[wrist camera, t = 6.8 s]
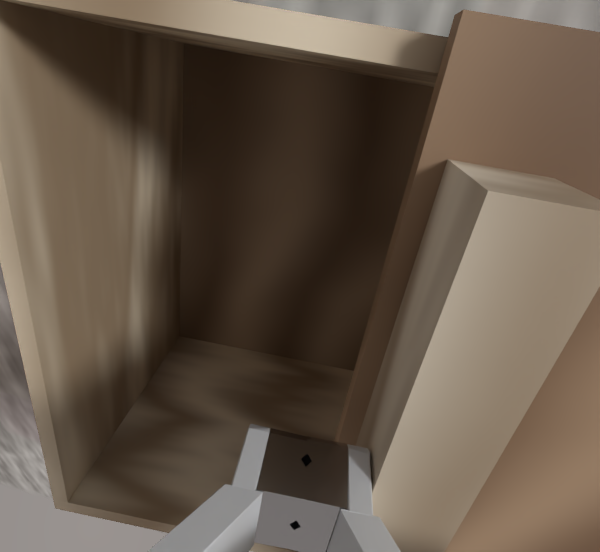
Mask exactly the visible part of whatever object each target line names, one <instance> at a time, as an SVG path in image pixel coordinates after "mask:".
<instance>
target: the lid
mask: <svg viewBox="0 0 600 552" xmlns="http://www.w3.org/2000/svg"><path fill="white" fill-rule="evenodd" d="M334 441H336V442H341V443H346V444H347V445H348V444H349V445H354V446H359V447H363V448H368V450H369V452H370V465H371V483H372V502H373V516H377V517H380V518H381V520H382V522H383V523H384V525H385V526H386V528H387V530H388V531H389V533H390V535H391V536H392V538H393V540H394V541H395V543H396V544H397V546H398V548H399V549H400V551H401V552H600V32H595V31H589V30H583V29H577V28H571V27H565V26H559V25H553V24H547V23H541V22H535V21H529V20H523V19H517V18H511V17H505V16H499V15H493V14H487V13H481V12H475V11H469V10H462V11H461V12H459V13H458V14H456V15H455V16H454V19H453V23H452V27H451V30H450V34H449V37H448V41H447V44H446V48H445V51H444V55H443V58H442V62H441V65H440V69H439V72H438V76H437V79H436V83H435V87H434V90H433V94H432V97H431V101H430V104H429V108H428V111H427V115H426V118H425V122H424V125H423V129H422V132H421V136H420V139H419V143H418V147H417V150H416V154H415V157H414V161H413V164H412V168H411V171H410V175H409V178H408V182H407V185H406V189H405V192H404V196H403V199H402V203H401V207H400V210H399V214H398V217H397V221H396V224H395V228H394V231H393V235H392V238H391V242H390V245H389V249H388V252H387V256H386V259H385V263H384V267H383V270H382V274H381V277H380V281H379V284H378V288H377V291H376V295H375V298H374V302H373V305H372V309H371V312H370V316H369V319H368V323H367V327H366V330H365V334H364V337H363V341H362V344H361V348H360V351H359V355H358V358H357V362H356V365H355V369H354V372H353V376H352V380H351V383H350V387H349V390H348V394H347V397H346V401H345V404H344V408H343V411H342V415H341V418H340V422H339V425H338V429H337V432H336V436H335V440H334Z"/></svg>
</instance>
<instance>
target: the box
mask: <svg viewBox="0 0 600 552" xmlns="http://www.w3.org/2000/svg"><path fill="white" fill-rule="evenodd" d="M447 41H448V37H443V36H437V35H431V34H425V33H419V32H413V31H407V30H402V29H396V28H390V27H384V26H378V25H372V24H366V23H360V22H354V21H348V20H343V19H337V18H331V17H325V16H319V15H313V14H307V13H301V12H295V11H290V10H284V9H278V8H272V7H266V6H260V5H254V4H248V3H242V2H236V1H231V0H0V263H1V267H2V271H3V276H4V280H5V285H6V289H7V294H8V298H9V303H10V307H11V312H12V316H13V321H14V325H15V330H16V334H17V339H18V343H19V348H20V352H21V357H22V361H23V366H24V370H25V375H26V379H27V384H28V388H29V393H30V397H31V402H32V406H33V411H34V415H35V420H36V424H37V429H38V433H39V438H40V442H41V447H42V451H43V455H44V460H45V464H46V469H47V473H48V478H49V482H50V487H51V491H52V496H53V500H54V505H55V508H56V509H60V510H65V511H70V512H74V513H79V514H84V515H88V516H93V517H98V518H103V519H107V520H111V521H116V522H120V523H125V524H130V525H134V526H139V527H144V528H148V529H153V530H157V531H162V532H167V533H169V532H170V531H172V530H173V529H174V528H175V527H176V526H177V525H178V524H180V523H181V522H182V521H183V520H184V519H185V518H186V517H188V516H189V515H190V514H191V513H192V512H193V511H194V510H196V509H197V508H198V507H199V506H200V505H201V504H202V503H203V502H205V501H206V500H207V499H208V498H209V497H210V496H211V495H213V494H214V493H215V492H216V491H217V490H218V489H219V488H221V487H222V486H223V485H224V484H229V485H231V484H232V480H233V477H234V474H235V470H236V467H237V464H238V460H239V457H240V454H241V450H242V447H243V444H244V440H245V437H246V434H247V430H248V428H249V426H250V424H255V425H259V426H264V427H268V428H273V429H277V430H282V431H286V432H290V433H294V434H298V435H303V436H310V437H315V438H320V439H325V440H330V441H334V440H335V436H336V432H337V429H338V425H339V422H340V418H341V415H342V411H343V408H344V404H345V401H346V397H347V394H348V390H349V387H350V383H351V380H352V376H353V372H354V369H355V365H356V362H357V358H358V355H359V351H360V348H361V344H362V341H363V337H364V334H365V330H366V327H367V323H368V319H369V316H370V312H371V309H372V305H373V302H374V298H375V295H376V291H377V288H378V284H379V281H380V277H381V274H382V270H383V267H384V263H385V259H386V256H387V252H388V249H389V245H390V242H391V238H392V235H393V231H394V228H395V224H396V221H397V217H398V214H399V210H400V207H401V203H402V199H403V196H404V192H405V189H406V185H407V182H408V178H409V175H410V171H411V168H412V164H413V161H414V157H415V154H416V150H417V147H418V143H419V139H420V136H421V132H422V129H423V125H424V122H425V118H426V115H427V111H428V108H429V104H430V101H431V97H432V94H433V90H434V87H435V83H436V79H437V76H438V72H439V69H440V65H441V62H442V58H443V55H444V51H445V48H446V44H447ZM250 551H255V552H298V551H294V550H290V549H286V548H280V547H275V546H270V545H264V544H259V543H254V545H253V547H252V548H251V549H250Z"/></svg>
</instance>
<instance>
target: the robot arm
mask: <svg viewBox="0 0 600 552" xmlns="http://www.w3.org/2000/svg"><path fill="white" fill-rule="evenodd" d="M254 543H259V544H264V545H270V546H275V547H280V548H286V549H290V550H294V551H298V552H401V551H400V549H399V548H398V546H397V544H396V543H395V541H394V540H393V538H392V536H391V535H390V533H389V531H388V530H387V528H386V526H385V525H384V523H383V522H382V520H381V518H380V517H377V516H373V502H372V483H371V465H370V452H369V450H368V448H363V447H359V446H354V445H349V444H348V445H347V444H346V443H341V442H336V441H330V440H325V439H320V438H315V437H310V436H303V435H298V434H294V433H290V432H286V431H282V430H277V429H273V428H268V427H264V426H259V425H255V424H250V426H249V428H248V430H247V434H246V437H245V440H244V444H243V447H242V450H241V454H240V457H239V460H238V464H237V467H236V470H235V474H234V477H233V480H232V484H231V485H229V484H224V485H223V486H222V487H221V488H219V489H218V490H217V491H216V492H215V493H214V494H213V495H211V496H210V497H209V498H208V499H207V500H206V501H205V502H203V503H202V504H201V505H200V506H199V507H198V508H197V509H196V510H194V511H193V512H192V513H191V514H190V515H189V516H188V517H186V518H185V519H184V520H183V521H182V522H181V523H180V524H178V525H177V526H176V527H175V528H174V529H173V530H172V531H170V532H169V533H168V534H167V535H166V536H165V537H164V538H163V539H161V540H160V541H159V542H158V543H157V544H156V545H154V546H153V547H152V548H151V549H150V550H149V551H148V552H249V550H250V549H251V548H252V547H253V545H254Z"/></svg>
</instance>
